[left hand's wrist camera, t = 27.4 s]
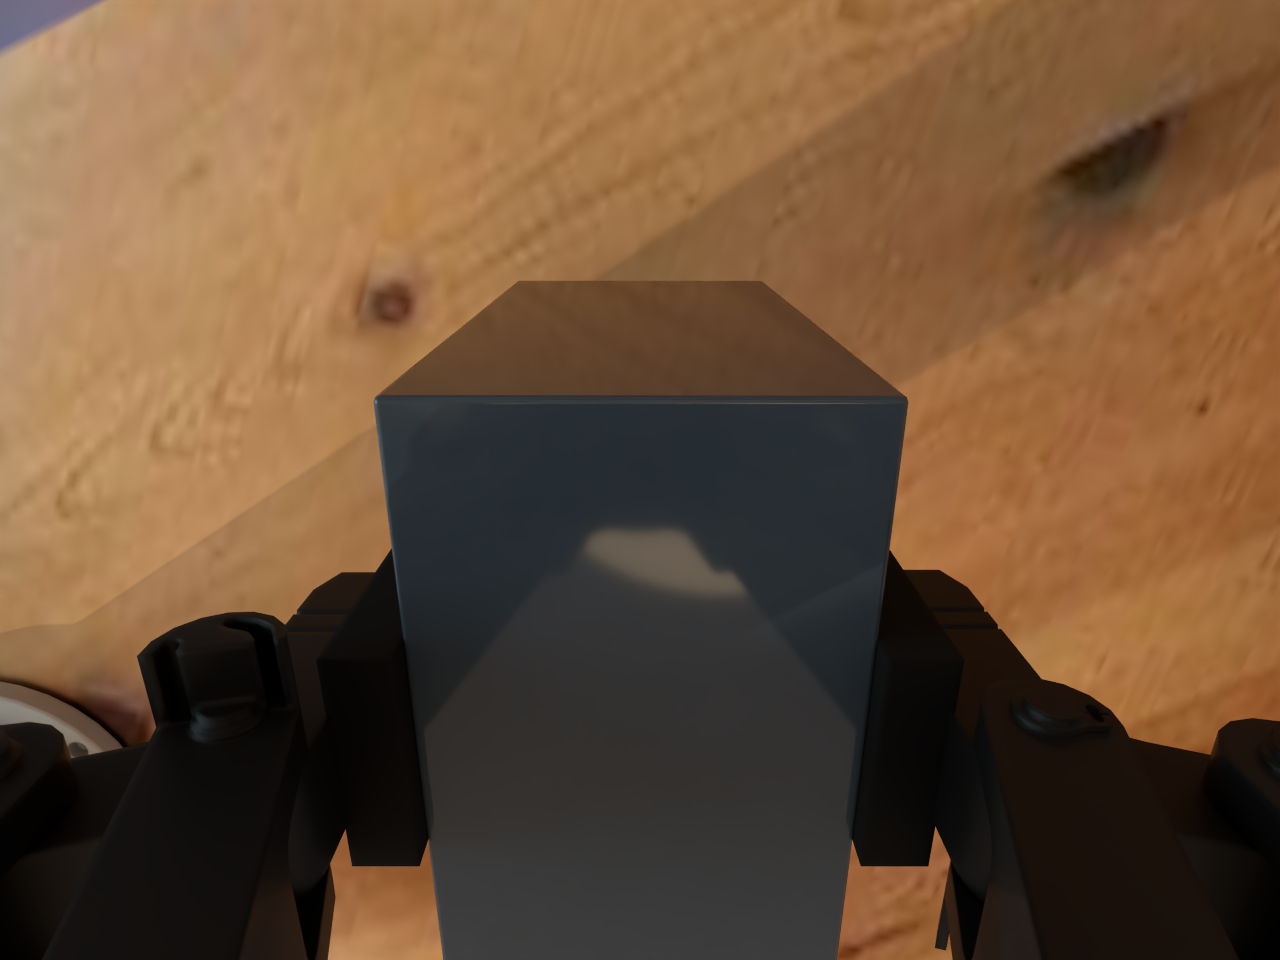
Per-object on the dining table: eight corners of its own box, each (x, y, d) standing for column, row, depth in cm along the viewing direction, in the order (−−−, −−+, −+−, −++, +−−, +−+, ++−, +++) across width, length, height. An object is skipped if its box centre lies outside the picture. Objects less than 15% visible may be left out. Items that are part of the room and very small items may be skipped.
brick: (536, 640, 19) (449, 1024, 10) (517, 280, 16) (370, 396, 7) (743, 640, 19) (830, 1025, 10) (763, 280, 16) (911, 396, 7)
